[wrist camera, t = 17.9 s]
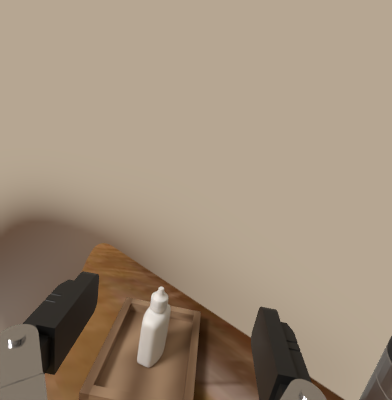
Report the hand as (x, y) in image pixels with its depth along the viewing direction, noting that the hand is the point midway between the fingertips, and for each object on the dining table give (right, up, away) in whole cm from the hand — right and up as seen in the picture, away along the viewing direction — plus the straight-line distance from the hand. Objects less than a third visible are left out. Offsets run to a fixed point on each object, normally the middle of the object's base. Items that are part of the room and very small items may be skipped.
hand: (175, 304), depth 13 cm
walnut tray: (-6, -19, +29) cm, 35 cm away
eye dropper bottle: (-6, -19, +28) cm, 35 cm away
